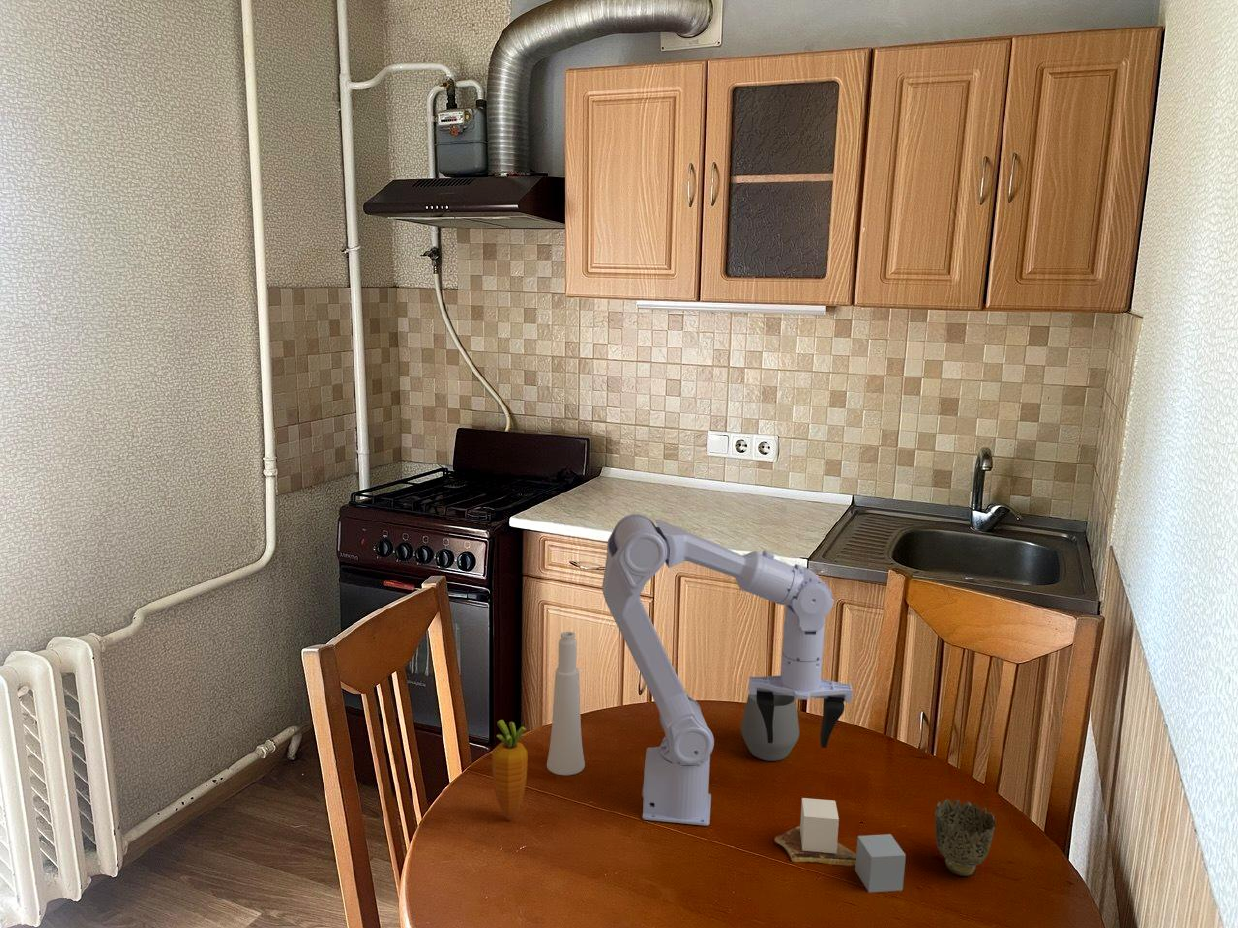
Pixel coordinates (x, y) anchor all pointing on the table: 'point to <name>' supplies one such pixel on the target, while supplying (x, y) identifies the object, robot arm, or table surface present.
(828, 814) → the cream block
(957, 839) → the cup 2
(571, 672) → the cosmetic bottle
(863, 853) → the slate block
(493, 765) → the carrot
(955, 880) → the table surface
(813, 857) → the shard
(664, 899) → the table surface
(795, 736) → the cup
